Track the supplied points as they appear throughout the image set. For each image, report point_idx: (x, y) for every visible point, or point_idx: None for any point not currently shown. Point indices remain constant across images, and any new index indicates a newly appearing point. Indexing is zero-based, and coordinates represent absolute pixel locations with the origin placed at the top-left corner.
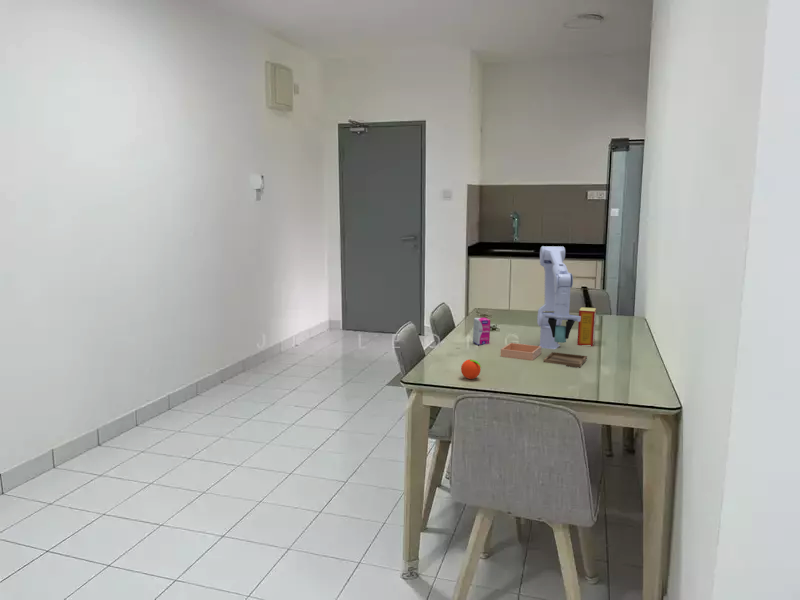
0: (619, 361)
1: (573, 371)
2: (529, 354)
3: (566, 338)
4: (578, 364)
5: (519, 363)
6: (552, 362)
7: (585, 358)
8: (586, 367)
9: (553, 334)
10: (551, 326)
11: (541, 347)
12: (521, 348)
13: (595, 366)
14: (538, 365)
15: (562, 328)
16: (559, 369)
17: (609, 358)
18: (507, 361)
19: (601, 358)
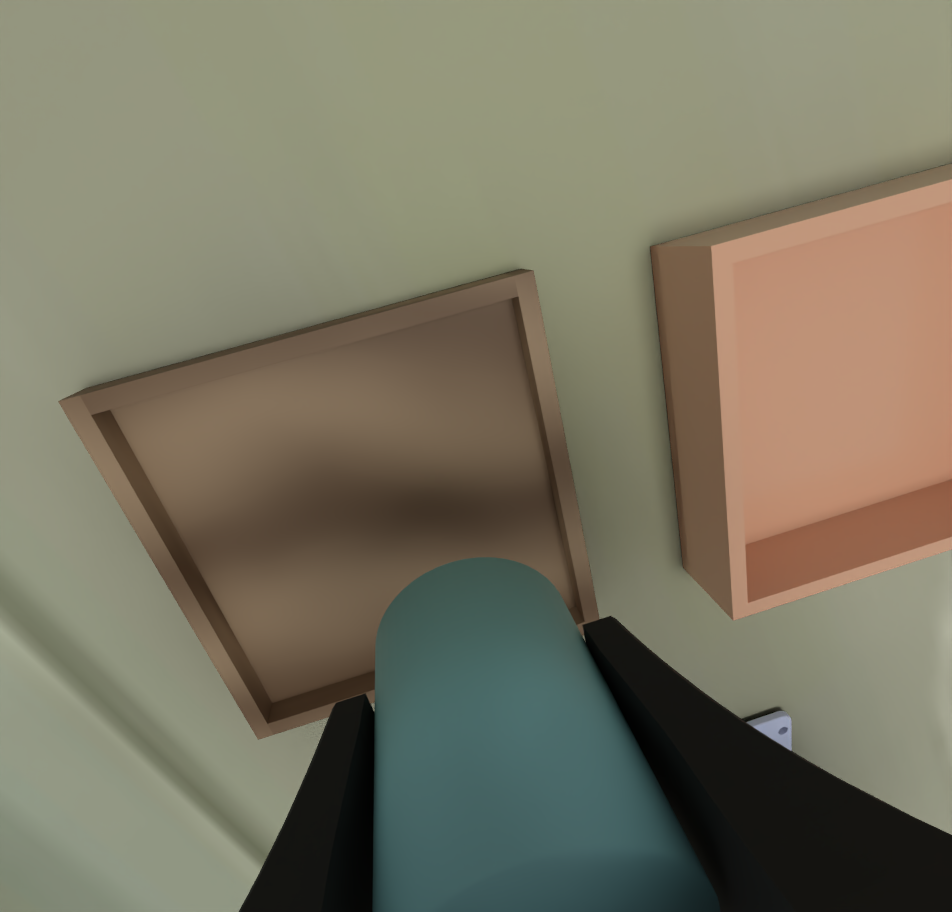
0: (25, 859)
1: (2, 154)
2: (740, 234)
3: (346, 702)
4: (80, 392)
5: (750, 32)
6: (416, 299)
7: (228, 678)
8: (53, 466)
9: (621, 653)
10: (797, 791)
11: (753, 726)
12: (894, 519)
13: (23, 573)
14: (519, 118)
15: (426, 877)
16: (205, 117)
17: (159, 867)
18: (902, 20)
19: (206, 825)
